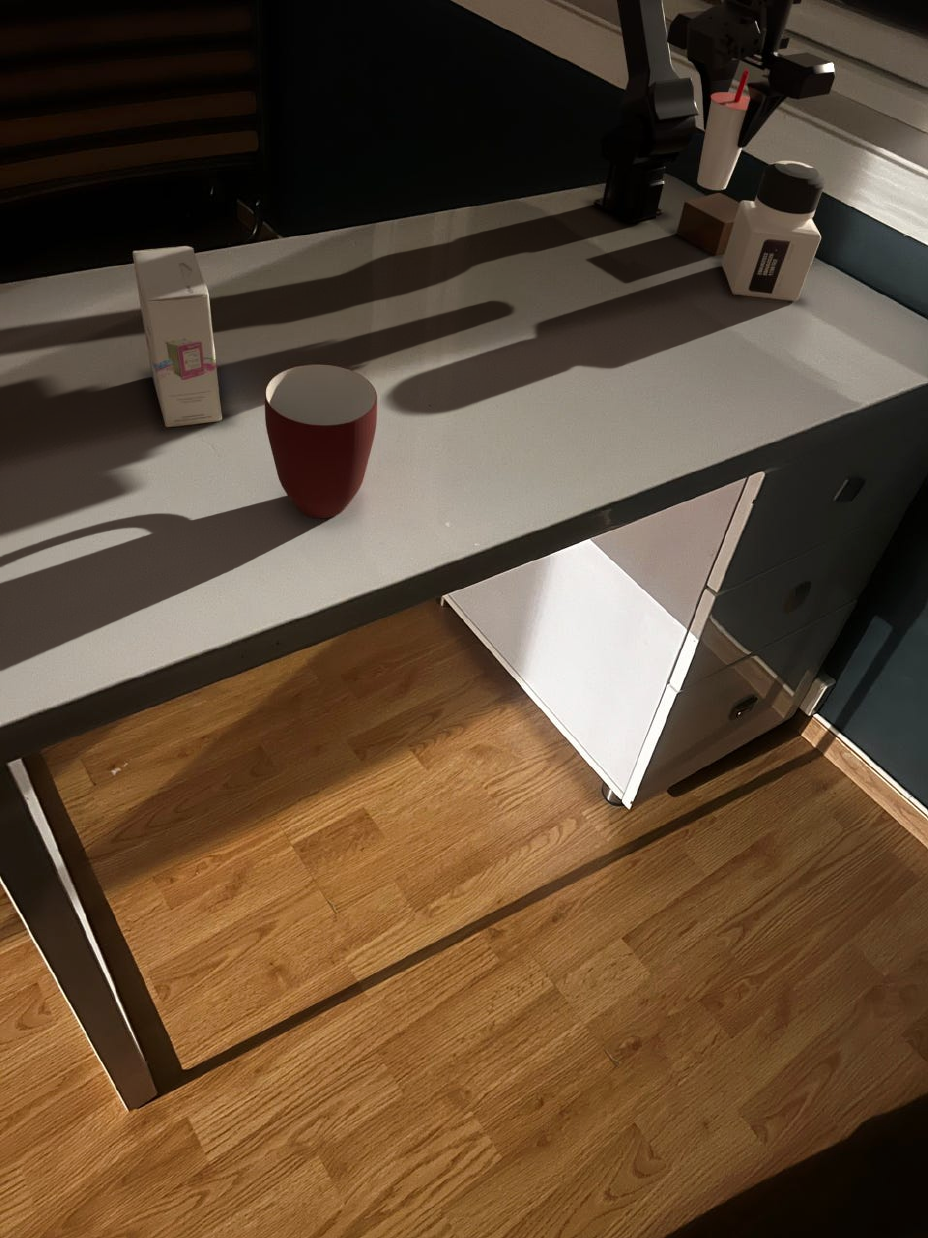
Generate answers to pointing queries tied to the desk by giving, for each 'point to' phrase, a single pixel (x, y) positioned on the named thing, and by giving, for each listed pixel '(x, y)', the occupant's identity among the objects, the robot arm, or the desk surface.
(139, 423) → the desk surface
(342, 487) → the mug
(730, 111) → the cup
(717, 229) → the walnut block
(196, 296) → the ink box
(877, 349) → the desk surface
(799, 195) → the container
